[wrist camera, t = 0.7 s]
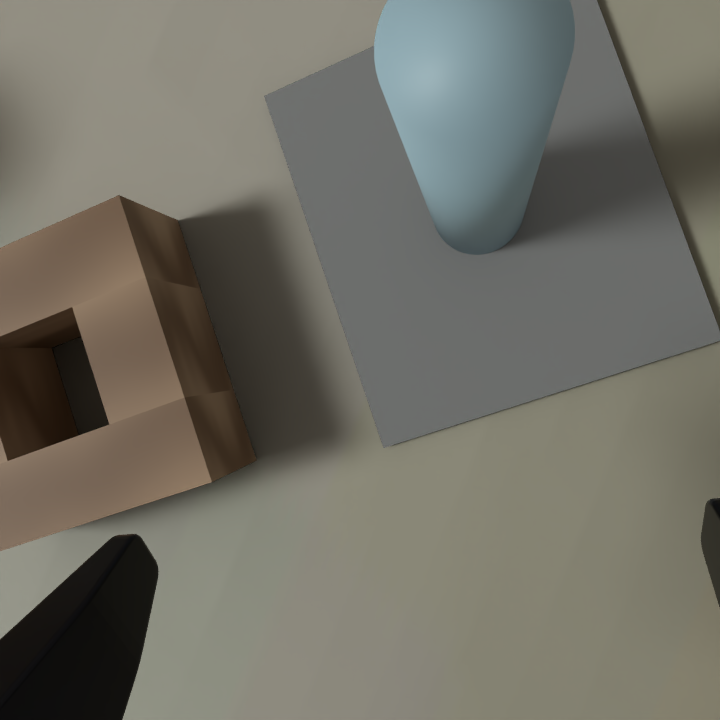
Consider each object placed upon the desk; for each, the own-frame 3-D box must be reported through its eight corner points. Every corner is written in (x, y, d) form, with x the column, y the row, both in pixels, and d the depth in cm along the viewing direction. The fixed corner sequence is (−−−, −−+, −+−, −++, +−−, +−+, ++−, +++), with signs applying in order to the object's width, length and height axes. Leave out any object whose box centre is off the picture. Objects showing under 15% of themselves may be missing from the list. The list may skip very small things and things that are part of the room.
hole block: (256, 460, 24) (211, 482, 20) (44, 529, 26) (-35, 562, 22) (178, 220, 24) (118, 195, 20) (-25, 306, 26) (-115, 298, 22)
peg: (537, 235, 21) (603, 93, 9) (449, 267, 22) (410, 172, 10) (506, 149, 21) (535, -94, 10) (420, 184, 22) (348, -5, 10)
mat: (719, 339, 20) (723, 339, 20) (384, 446, 23) (383, 447, 22) (577, -42, 21) (579, -48, 21) (267, 99, 23) (264, 95, 23)
